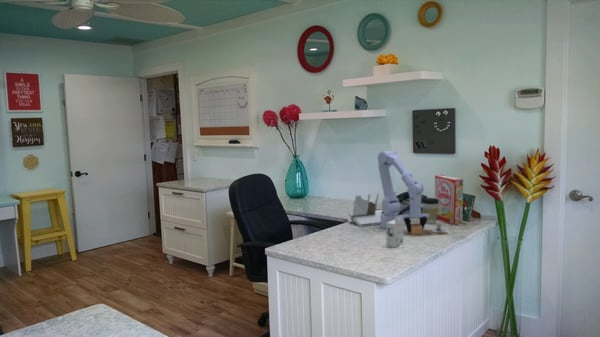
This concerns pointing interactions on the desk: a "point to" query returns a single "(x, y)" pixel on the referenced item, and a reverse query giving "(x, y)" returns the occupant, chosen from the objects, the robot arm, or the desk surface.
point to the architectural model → (366, 212)
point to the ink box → (394, 232)
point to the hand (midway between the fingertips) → (415, 231)
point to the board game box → (449, 198)
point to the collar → (415, 229)
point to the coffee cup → (430, 209)
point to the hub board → (431, 232)
